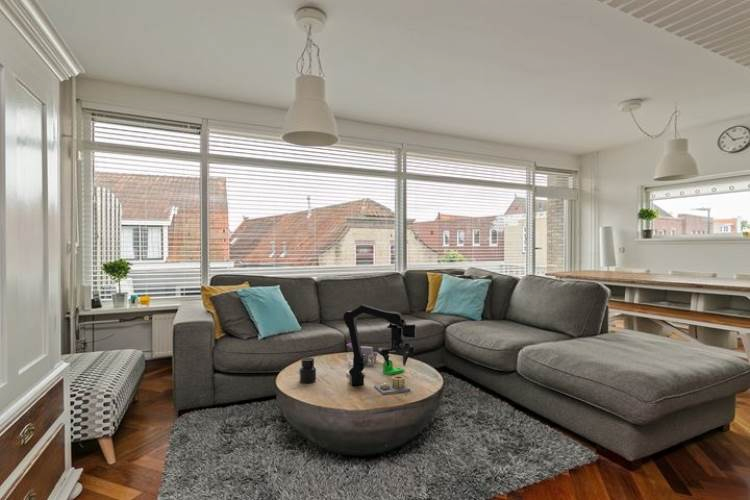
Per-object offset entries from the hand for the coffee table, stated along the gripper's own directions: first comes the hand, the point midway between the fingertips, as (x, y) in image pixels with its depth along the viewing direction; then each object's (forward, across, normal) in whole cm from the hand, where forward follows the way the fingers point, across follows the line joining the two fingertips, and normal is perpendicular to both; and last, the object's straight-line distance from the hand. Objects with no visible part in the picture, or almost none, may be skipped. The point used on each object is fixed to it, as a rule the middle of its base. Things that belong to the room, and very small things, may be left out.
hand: (396, 366), depth 214 cm
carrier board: (+11, -3, -1) cm, 11 cm away
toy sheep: (+11, -2, +48) cm, 50 cm away
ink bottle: (+11, -41, +27) cm, 50 cm away
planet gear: (+10, +1, -1) cm, 10 cm away
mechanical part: (+11, +10, +24) cm, 28 cm away
